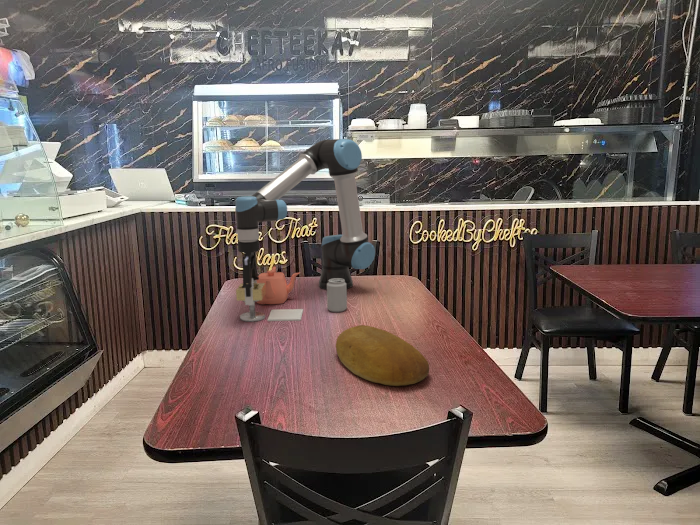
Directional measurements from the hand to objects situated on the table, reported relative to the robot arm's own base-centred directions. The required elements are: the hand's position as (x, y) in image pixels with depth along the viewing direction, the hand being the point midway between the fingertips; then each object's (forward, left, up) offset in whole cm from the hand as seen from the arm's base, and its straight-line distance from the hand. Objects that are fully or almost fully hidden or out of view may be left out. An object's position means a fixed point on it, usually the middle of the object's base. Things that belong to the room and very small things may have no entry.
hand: (251, 301), depth 192 cm
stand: (0, 0, -6) cm, 6 cm away
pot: (-5, -23, -7) cm, 24 cm away
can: (-31, -8, -7) cm, 33 cm away
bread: (-43, +45, -7) cm, 63 cm away
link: (0, 0, +2) cm, 2 cm away
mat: (-12, -2, -6) cm, 14 cm away
